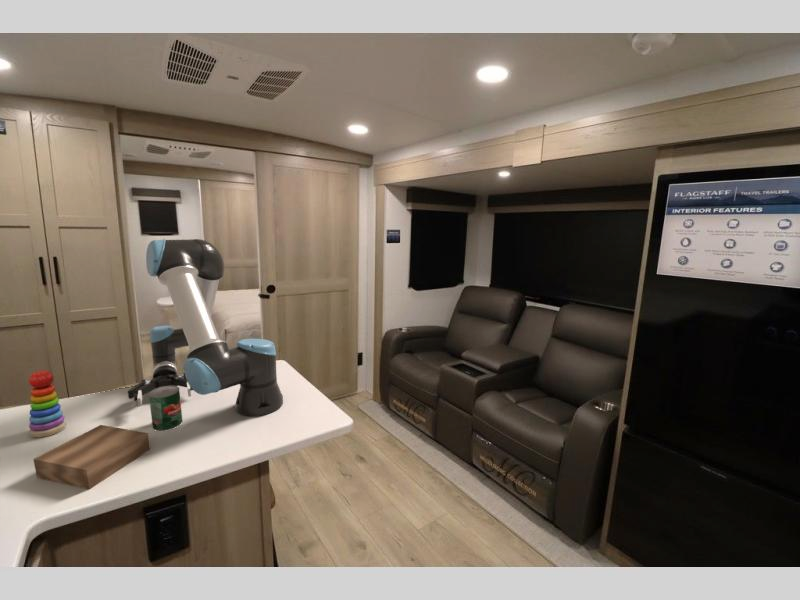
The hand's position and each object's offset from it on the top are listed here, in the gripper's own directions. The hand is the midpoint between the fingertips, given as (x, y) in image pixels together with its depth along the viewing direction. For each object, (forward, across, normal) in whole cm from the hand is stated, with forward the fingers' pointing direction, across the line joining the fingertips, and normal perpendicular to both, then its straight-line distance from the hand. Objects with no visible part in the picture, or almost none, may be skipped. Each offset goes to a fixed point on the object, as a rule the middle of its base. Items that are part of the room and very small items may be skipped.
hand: (165, 397), depth 118 cm
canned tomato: (+7, 0, -6) cm, 10 cm away
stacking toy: (-5, +30, -6) cm, 31 cm away
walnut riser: (+20, +15, -6) cm, 26 cm away
